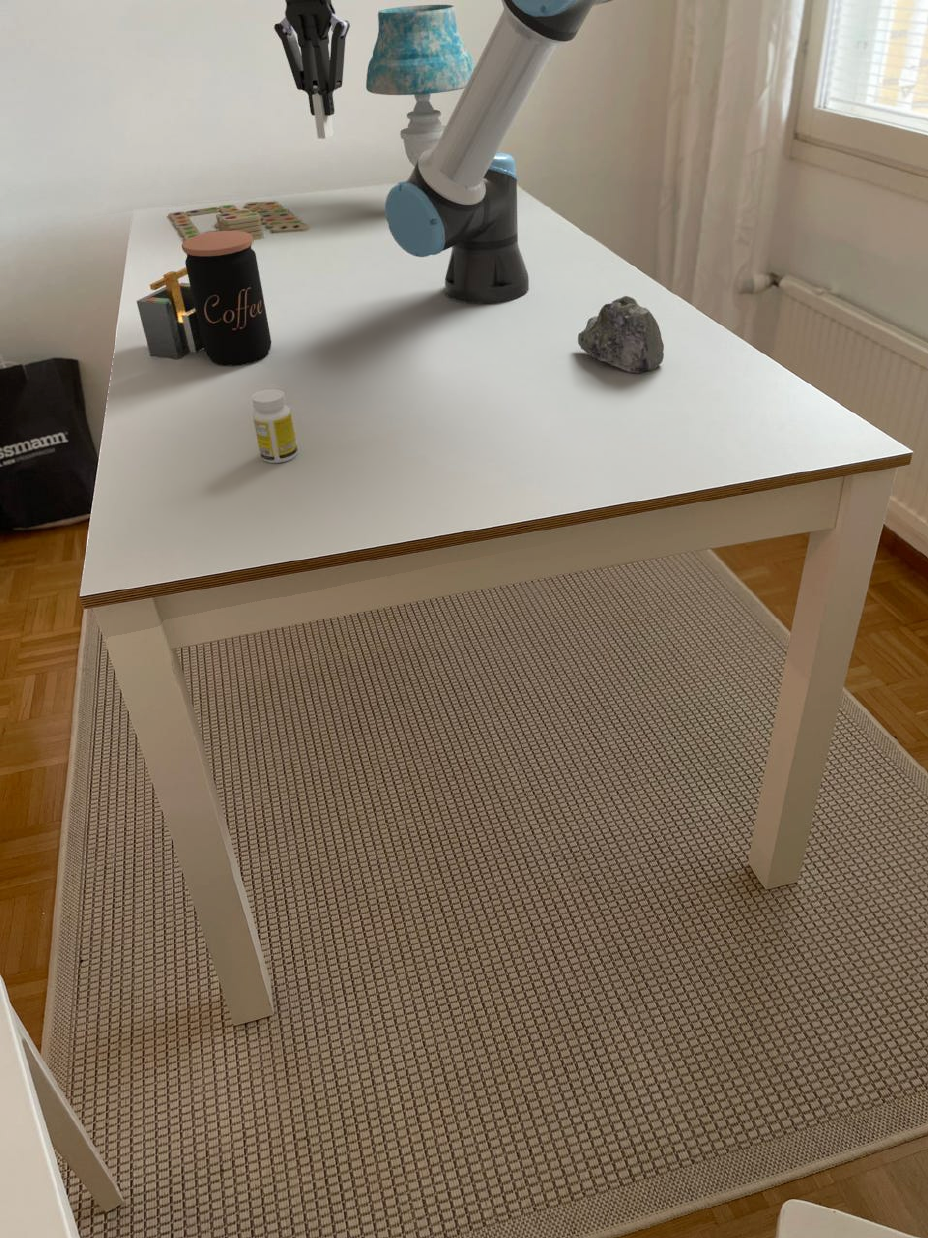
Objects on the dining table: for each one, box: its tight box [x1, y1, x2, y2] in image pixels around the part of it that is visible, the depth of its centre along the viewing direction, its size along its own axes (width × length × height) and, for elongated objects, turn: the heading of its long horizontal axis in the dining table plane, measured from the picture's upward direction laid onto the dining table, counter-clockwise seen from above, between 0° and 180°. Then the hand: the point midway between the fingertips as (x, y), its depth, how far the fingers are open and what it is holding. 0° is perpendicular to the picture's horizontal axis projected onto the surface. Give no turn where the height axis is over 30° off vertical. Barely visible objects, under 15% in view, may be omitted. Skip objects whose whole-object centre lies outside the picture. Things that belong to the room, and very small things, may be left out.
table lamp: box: [365, 4, 475, 167], centre depth 214 cm, size 24×24×40 cm
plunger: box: [149, 266, 204, 353], centre depth 157 cm, size 6×9×11 cm, turn 156°
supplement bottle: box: [252, 388, 298, 464], centre depth 125 cm, size 5×5×8 cm
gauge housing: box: [136, 282, 195, 360], centre depth 160 cm, size 6×9×9 cm, turn 156°
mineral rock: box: [577, 295, 665, 374], centre depth 145 cm, size 13×11×10 cm
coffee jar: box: [181, 230, 272, 367], centre depth 153 cm, size 11×11×18 cm
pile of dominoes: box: [168, 200, 309, 241], centre depth 227 cm, size 35×27×6 cm
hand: (325, 136), depth 166 cm, fingers closed
